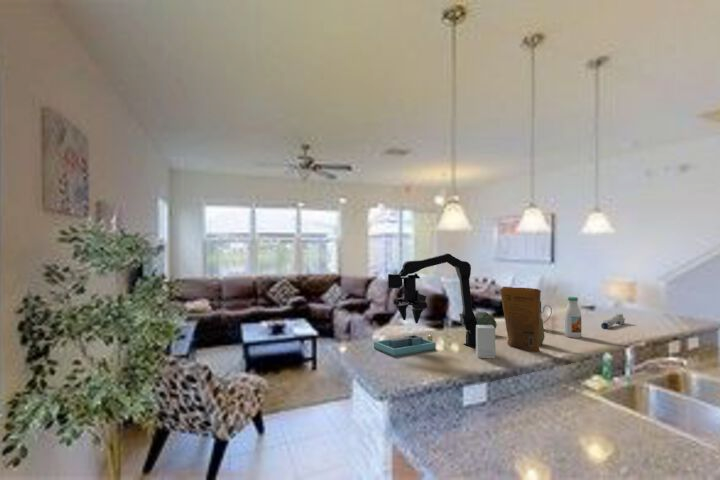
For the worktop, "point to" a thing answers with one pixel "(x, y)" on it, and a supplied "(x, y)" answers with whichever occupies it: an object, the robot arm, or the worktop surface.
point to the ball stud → (430, 338)
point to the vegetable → (485, 319)
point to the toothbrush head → (613, 321)
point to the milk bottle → (572, 319)
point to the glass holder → (543, 311)
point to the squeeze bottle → (541, 331)
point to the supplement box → (485, 341)
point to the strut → (405, 341)
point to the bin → (386, 349)
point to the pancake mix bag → (522, 317)
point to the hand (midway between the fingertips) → (410, 321)
